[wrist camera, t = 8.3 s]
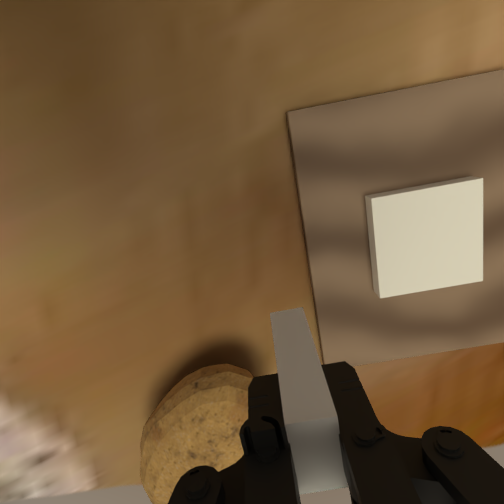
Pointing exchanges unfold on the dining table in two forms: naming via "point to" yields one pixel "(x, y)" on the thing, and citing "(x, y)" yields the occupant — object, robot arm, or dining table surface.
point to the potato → (194, 428)
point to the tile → (426, 236)
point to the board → (388, 179)
